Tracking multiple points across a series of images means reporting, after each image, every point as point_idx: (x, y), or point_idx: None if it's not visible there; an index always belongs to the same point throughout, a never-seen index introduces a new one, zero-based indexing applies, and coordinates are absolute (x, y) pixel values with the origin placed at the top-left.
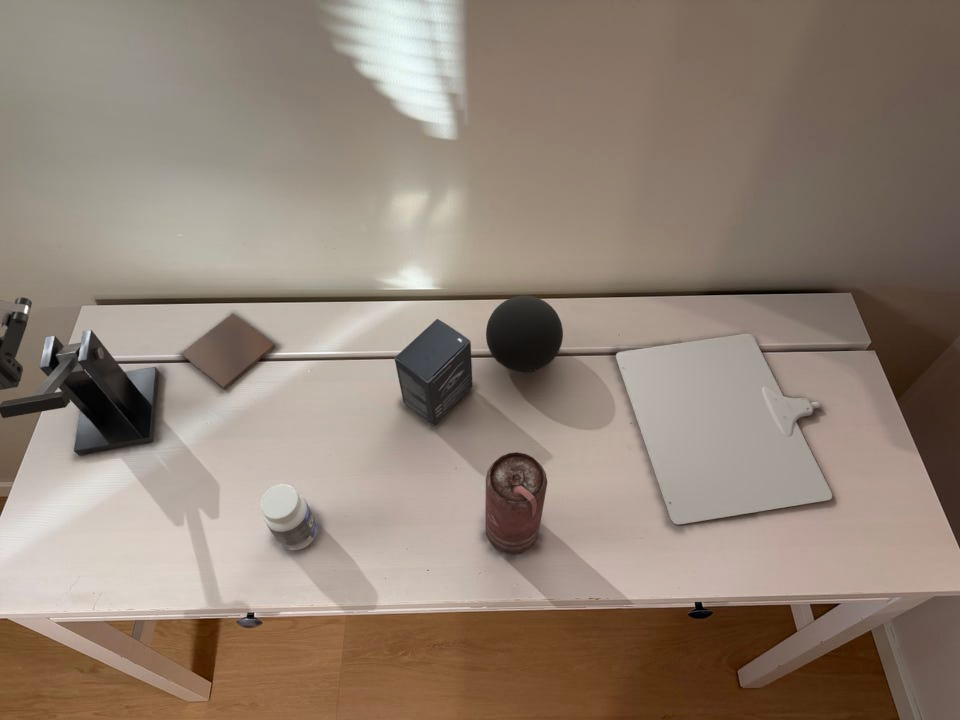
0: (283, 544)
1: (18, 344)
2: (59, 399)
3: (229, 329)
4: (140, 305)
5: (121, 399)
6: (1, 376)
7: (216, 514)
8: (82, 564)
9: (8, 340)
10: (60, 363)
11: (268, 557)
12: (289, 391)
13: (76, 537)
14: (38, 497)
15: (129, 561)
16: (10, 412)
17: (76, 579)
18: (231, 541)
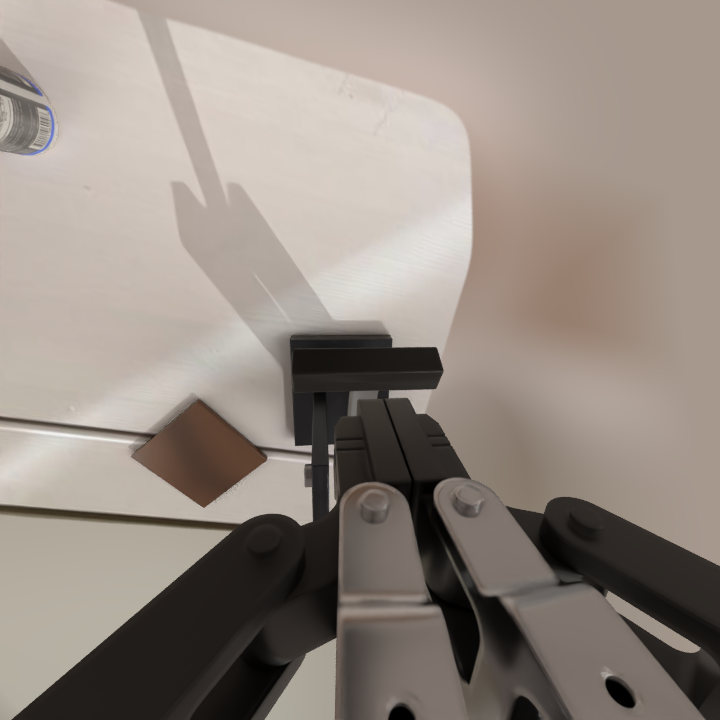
0: (12, 72)
1: (116, 641)
2: (298, 367)
3: (204, 486)
4: None
5: (313, 397)
6: (375, 437)
7: (176, 189)
8: (372, 154)
9: (128, 713)
10: None
11: (66, 76)
12: (97, 380)
13: (383, 204)
14: (437, 282)
15: (303, 139)
16: (417, 355)
17: (378, 130)
18: (141, 129)
